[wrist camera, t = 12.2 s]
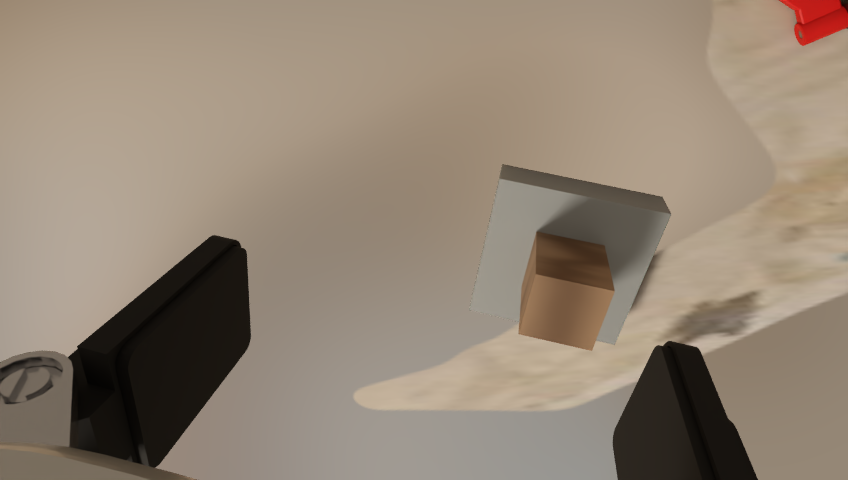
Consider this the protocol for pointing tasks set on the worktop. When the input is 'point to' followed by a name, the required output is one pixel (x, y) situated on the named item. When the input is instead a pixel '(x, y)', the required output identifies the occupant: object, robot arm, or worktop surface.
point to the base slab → (572, 218)
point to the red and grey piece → (818, 18)
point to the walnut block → (565, 291)
